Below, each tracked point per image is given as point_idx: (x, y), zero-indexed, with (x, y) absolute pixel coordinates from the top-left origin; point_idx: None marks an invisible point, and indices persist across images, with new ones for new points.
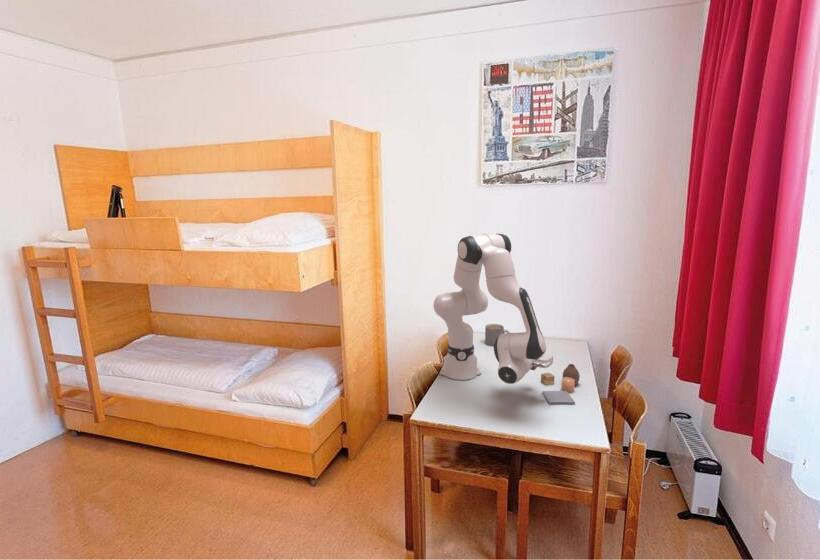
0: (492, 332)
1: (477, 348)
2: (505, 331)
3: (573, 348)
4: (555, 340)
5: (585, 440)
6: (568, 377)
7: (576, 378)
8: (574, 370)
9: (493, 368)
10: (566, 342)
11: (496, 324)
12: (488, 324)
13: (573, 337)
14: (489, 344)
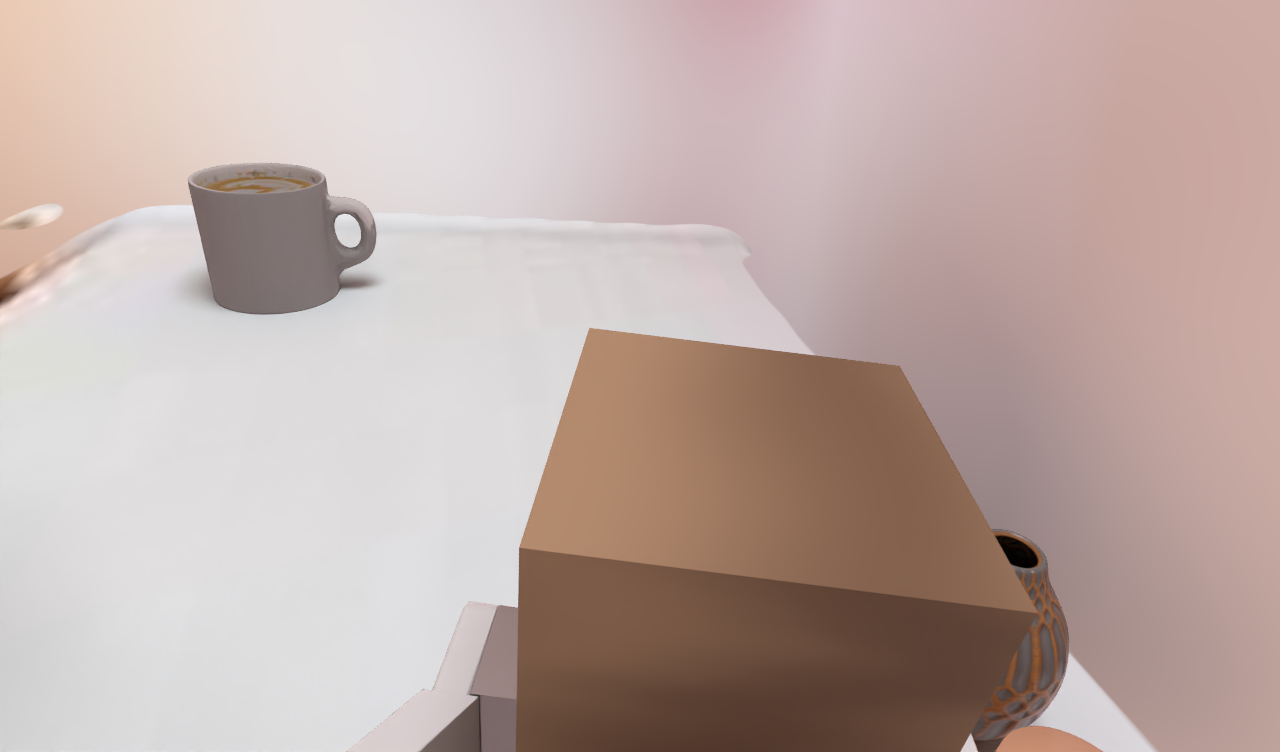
0: (238, 219)
1: (128, 344)
2: (341, 209)
3: (716, 284)
4: (615, 246)
5: None
6: (1039, 738)
7: (1060, 686)
8: (1054, 613)
9: (165, 606)
10: (667, 253)
11: (281, 166)
12: (220, 166)
13: (680, 227)
14: (236, 302)
